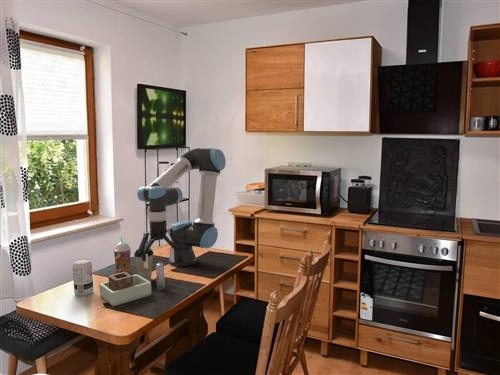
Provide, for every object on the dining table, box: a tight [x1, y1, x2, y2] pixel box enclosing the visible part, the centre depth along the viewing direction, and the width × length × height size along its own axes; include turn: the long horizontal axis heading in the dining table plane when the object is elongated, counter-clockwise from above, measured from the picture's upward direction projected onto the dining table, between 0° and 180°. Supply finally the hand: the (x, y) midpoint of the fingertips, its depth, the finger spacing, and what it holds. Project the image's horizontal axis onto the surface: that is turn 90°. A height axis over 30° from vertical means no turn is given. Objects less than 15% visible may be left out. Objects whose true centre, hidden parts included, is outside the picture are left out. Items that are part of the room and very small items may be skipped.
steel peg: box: [155, 262, 166, 291], centre depth 194 cm, size 4×4×12 cm
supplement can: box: [71, 258, 95, 297], centre depth 189 cm, size 8×8×15 cm
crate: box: [99, 273, 152, 307], centre depth 187 cm, size 18×14×6 cm
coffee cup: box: [133, 247, 155, 281], centre depth 206 cm, size 9×9×15 cm
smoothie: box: [113, 236, 131, 274], centre depth 213 cm, size 8×8×20 cm
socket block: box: [107, 272, 133, 292], centre depth 185 cm, size 8×8×10 cm
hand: (159, 264), depth 193 cm, fingers open, 13 cm apart
